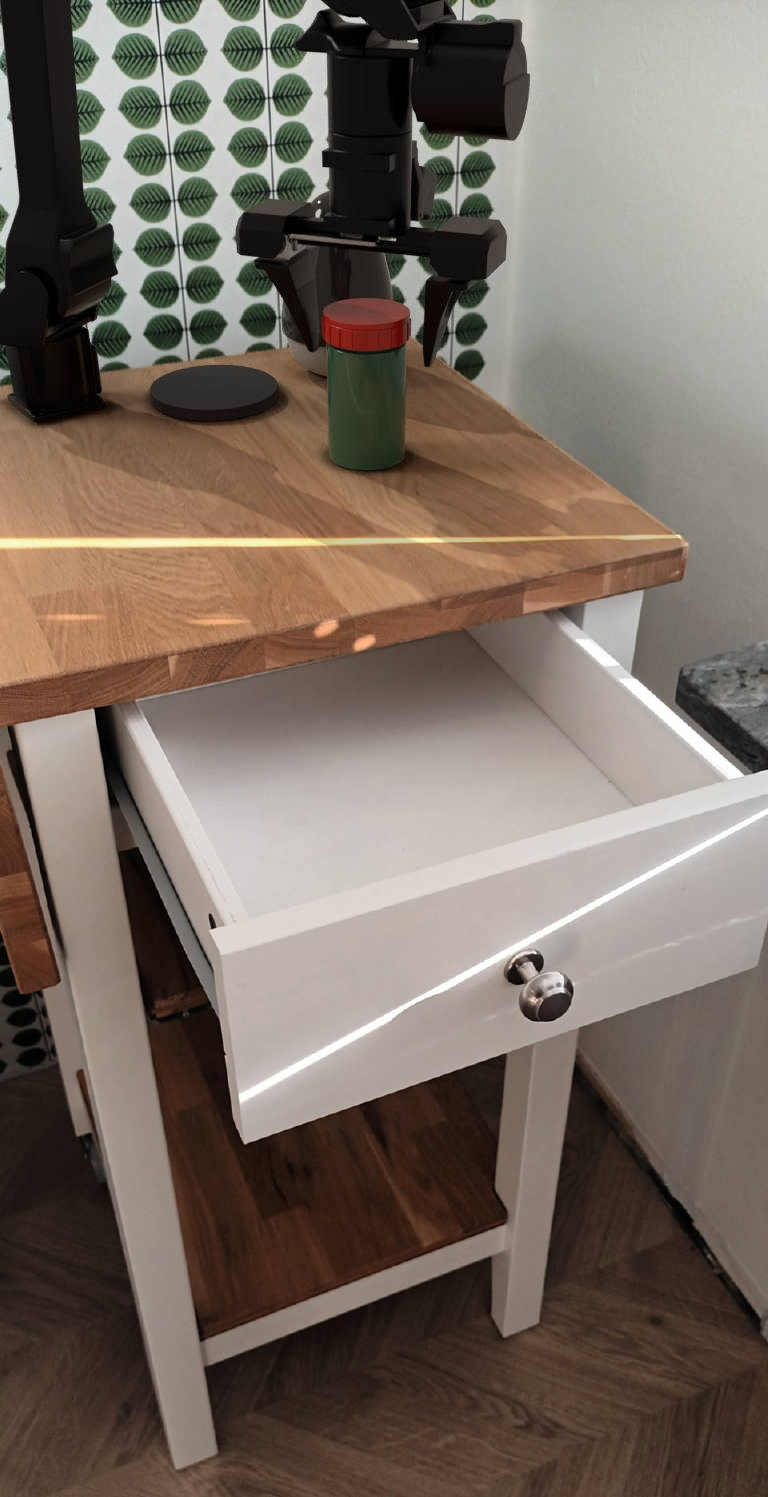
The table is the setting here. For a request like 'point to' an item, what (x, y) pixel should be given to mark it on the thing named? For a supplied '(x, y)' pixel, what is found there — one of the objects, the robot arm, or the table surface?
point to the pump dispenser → (337, 288)
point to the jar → (366, 407)
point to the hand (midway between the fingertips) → (370, 358)
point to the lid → (366, 324)
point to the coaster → (214, 392)
